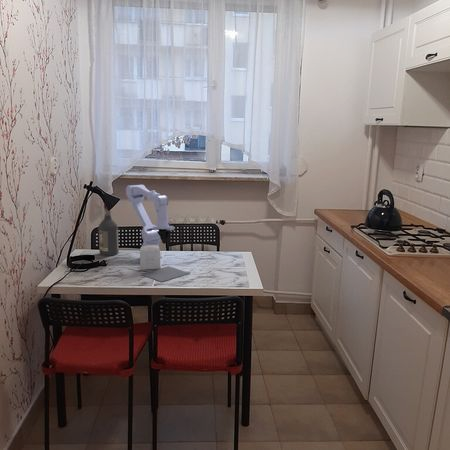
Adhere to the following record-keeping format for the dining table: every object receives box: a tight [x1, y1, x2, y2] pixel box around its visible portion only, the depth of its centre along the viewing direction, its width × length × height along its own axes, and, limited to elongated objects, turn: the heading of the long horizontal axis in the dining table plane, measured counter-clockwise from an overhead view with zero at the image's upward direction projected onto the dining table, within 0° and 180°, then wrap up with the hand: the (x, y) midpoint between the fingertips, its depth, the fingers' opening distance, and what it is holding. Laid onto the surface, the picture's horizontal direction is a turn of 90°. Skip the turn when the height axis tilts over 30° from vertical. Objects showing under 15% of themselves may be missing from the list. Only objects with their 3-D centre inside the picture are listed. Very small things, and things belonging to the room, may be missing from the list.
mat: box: [140, 265, 190, 283], centre depth 219 cm, size 16×18×1 cm
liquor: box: [98, 203, 119, 257], centre depth 250 cm, size 9×9×30 cm
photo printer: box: [139, 245, 162, 270], centre depth 226 cm, size 10×4×12 cm, turn 98°
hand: (164, 243), depth 237 cm, fingers closed
